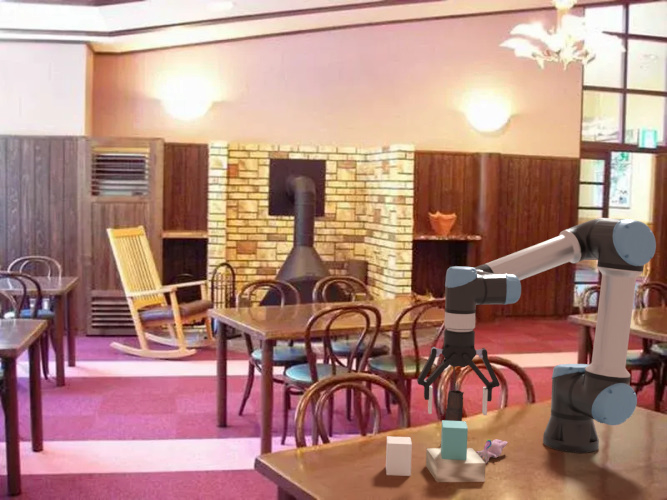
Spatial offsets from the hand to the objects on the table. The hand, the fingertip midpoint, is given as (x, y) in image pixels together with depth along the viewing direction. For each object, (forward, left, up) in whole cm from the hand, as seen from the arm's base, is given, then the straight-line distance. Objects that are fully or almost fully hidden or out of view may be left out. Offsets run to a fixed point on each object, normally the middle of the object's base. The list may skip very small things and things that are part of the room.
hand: (457, 413), depth 208 cm
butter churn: (-3, -25, -16) cm, 29 cm away
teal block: (+1, 0, -11) cm, 11 cm away
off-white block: (+14, 0, -15) cm, 21 cm away
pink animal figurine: (-11, -14, -16) cm, 24 cm away
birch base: (0, 0, -16) cm, 16 cm away
